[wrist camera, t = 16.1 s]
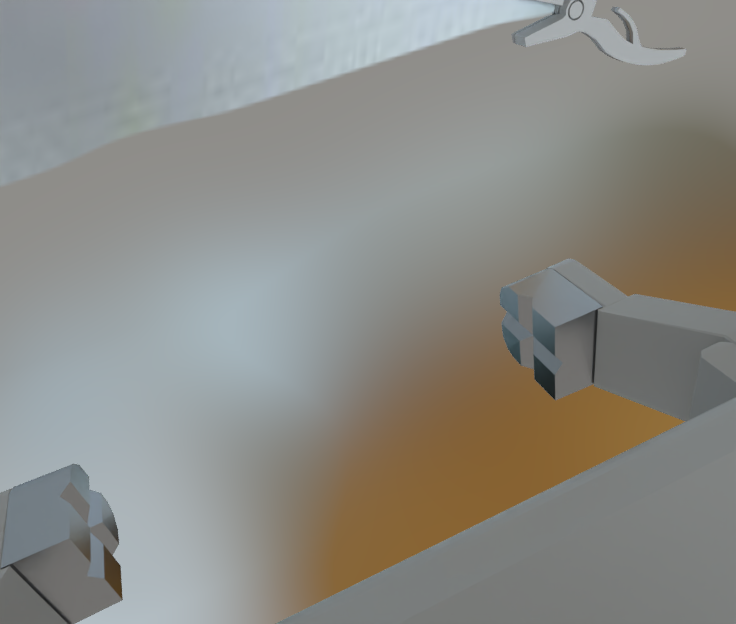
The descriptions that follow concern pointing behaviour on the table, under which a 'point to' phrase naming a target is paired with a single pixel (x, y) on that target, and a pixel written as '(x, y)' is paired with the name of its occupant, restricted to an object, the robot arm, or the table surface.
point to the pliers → (594, 33)
